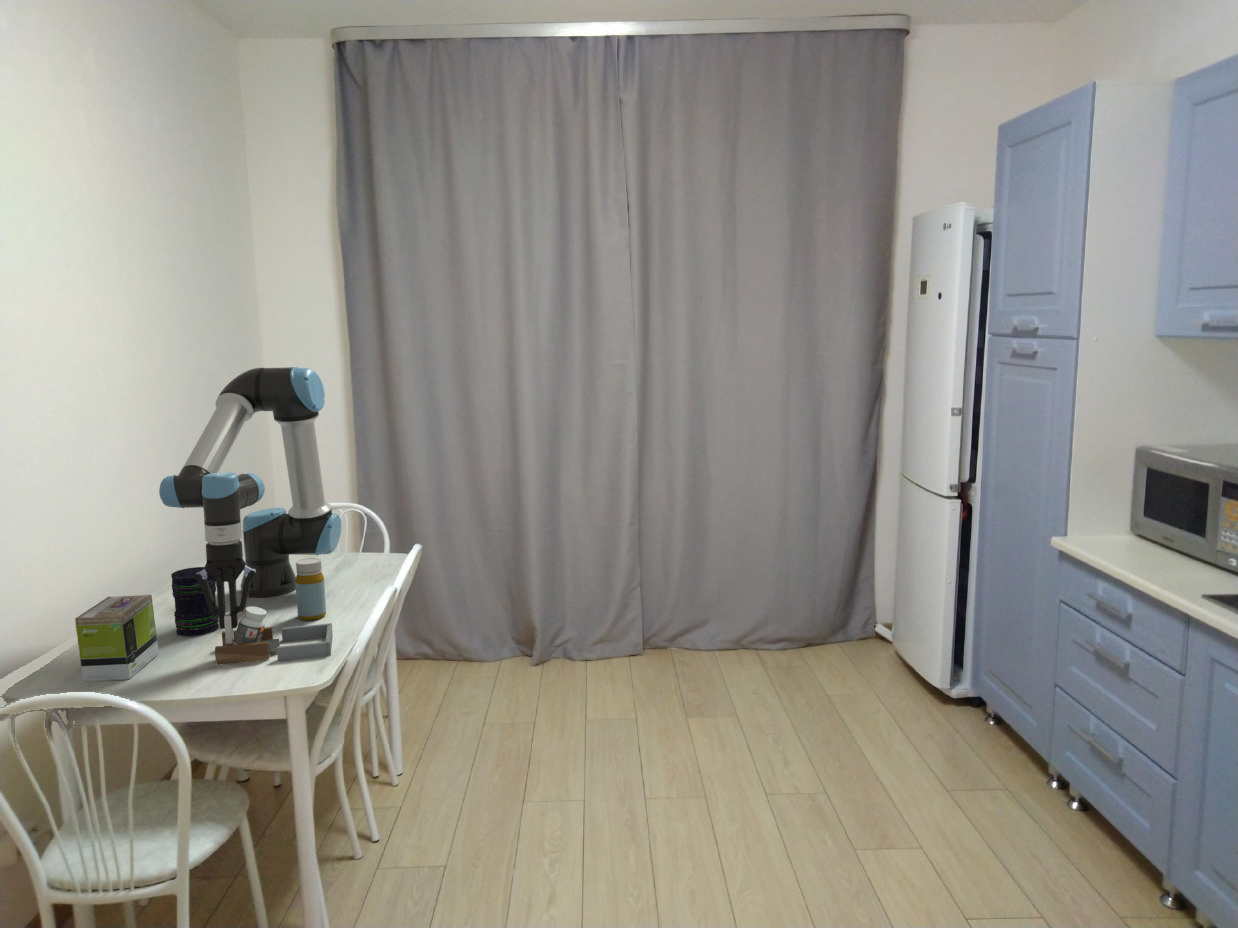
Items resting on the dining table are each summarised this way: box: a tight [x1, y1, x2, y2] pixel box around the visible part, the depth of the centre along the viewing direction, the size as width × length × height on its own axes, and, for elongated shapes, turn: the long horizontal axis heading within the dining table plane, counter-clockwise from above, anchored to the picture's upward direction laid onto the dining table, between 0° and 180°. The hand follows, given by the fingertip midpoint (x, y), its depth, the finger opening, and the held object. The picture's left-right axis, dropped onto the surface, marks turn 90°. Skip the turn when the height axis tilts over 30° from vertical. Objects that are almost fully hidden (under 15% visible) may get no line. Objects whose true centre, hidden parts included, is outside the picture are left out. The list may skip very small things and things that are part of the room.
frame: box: [276, 622, 334, 662], centre depth 207 cm, size 14×12×3 cm
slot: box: [214, 626, 274, 666], centre depth 203 cm, size 11×11×4 cm
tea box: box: [74, 594, 159, 683], centre depth 194 cm, size 15×10×15 cm, turn 5°
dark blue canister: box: [170, 566, 220, 638], centre depth 218 cm, size 10×10×15 cm
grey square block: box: [261, 638, 280, 656], centre depth 204 cm, size 4×4×2 cm
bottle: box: [295, 557, 327, 621], centre depth 227 cm, size 7×7×15 cm
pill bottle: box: [232, 606, 267, 645], centre depth 202 cm, size 6×6×10 cm
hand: (229, 641), depth 201 cm, fingers closed
